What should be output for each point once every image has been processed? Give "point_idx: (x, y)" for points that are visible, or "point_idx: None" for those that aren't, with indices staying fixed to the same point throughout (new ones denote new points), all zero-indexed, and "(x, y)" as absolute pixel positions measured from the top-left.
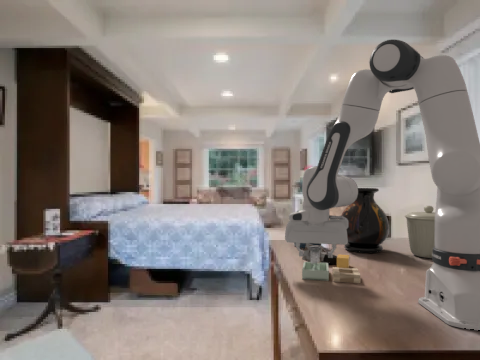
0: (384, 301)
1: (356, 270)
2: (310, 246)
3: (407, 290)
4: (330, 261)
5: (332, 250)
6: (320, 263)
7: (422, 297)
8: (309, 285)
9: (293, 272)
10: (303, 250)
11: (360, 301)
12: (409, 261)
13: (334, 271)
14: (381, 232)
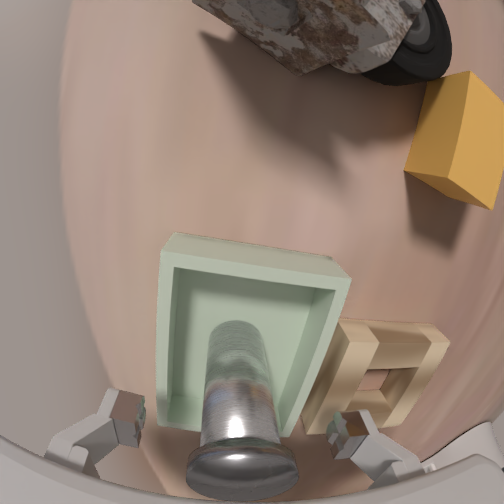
0: (357, 482)
1: (427, 373)
2: (195, 475)
3: (454, 415)
4: (397, 85)
5: (364, 469)
6: (293, 284)
7: (425, 467)
8: (195, 444)
9: (112, 285)
10: (133, 424)
11: (307, 493)
12: None
13: (324, 411)
14: None
